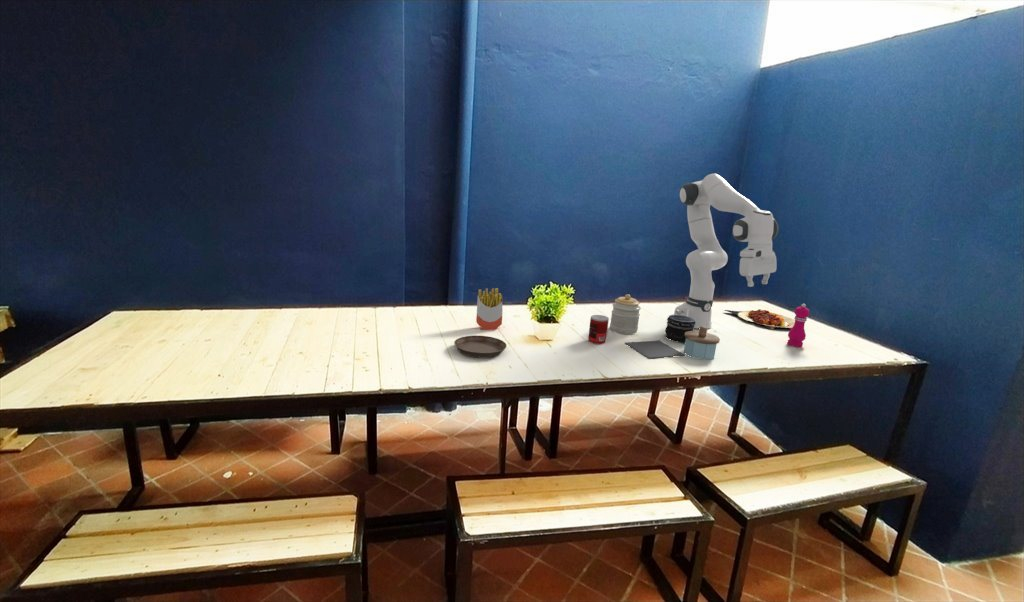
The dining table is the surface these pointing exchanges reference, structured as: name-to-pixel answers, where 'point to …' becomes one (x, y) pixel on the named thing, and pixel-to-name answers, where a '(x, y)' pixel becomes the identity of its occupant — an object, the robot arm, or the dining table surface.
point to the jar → (625, 315)
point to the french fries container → (489, 310)
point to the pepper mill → (798, 327)
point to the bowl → (699, 349)
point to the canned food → (598, 329)
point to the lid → (702, 336)
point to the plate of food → (765, 318)
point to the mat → (654, 349)
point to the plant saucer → (480, 346)
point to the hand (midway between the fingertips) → (757, 285)
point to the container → (678, 327)
